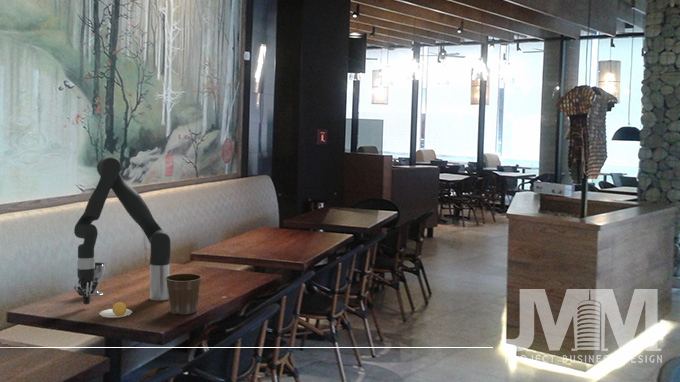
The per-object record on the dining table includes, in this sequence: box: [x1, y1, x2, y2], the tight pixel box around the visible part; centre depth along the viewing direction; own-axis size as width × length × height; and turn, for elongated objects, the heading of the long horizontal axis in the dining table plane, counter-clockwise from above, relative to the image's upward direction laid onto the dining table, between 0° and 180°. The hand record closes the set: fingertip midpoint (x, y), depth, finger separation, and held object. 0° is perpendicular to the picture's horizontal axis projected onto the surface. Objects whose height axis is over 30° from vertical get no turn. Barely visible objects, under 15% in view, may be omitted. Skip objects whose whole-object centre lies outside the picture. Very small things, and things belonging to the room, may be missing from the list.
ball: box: [111, 301, 128, 316], centre depth 311 cm, size 6×6×6 cm
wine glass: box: [90, 261, 106, 297], centre depth 347 cm, size 8×8×15 cm
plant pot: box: [165, 273, 203, 316], centre depth 320 cm, size 16×16×16 cm
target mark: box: [99, 308, 133, 318], centre depth 315 cm, size 14×14×1 cm
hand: (86, 304), depth 322 cm, fingers closed
